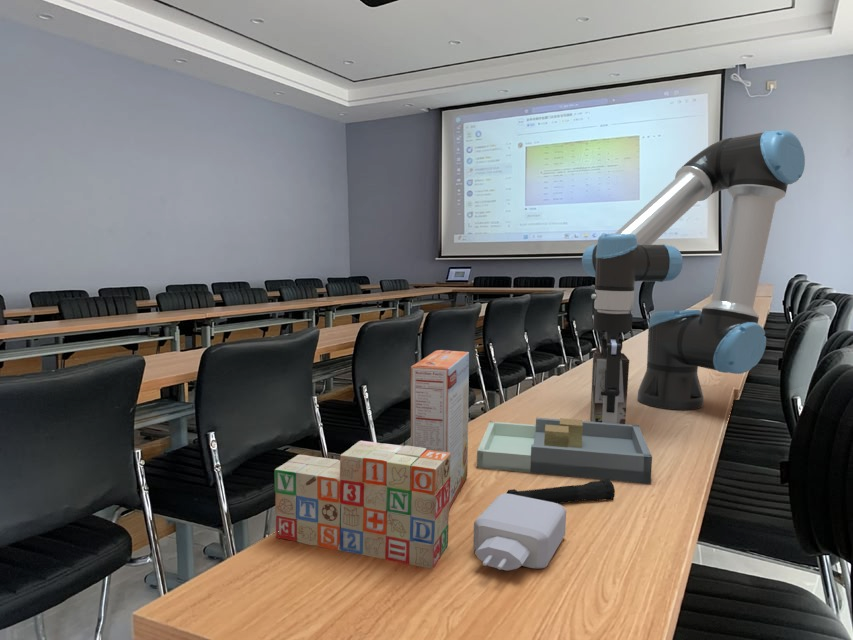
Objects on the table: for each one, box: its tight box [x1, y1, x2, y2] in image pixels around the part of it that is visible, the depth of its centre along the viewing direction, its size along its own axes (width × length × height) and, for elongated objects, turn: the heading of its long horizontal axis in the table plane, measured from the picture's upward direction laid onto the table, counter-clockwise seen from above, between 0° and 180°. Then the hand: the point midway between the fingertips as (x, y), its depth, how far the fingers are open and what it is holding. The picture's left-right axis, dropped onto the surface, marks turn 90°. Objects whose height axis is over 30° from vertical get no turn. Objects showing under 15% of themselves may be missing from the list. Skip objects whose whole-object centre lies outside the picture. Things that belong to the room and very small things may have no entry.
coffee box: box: [589, 352, 630, 424], centre depth 124 cm, size 9×6×16 cm
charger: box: [472, 493, 567, 572], centre depth 74 cm, size 5×9×15 cm
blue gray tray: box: [529, 417, 653, 485], centre depth 108 cm, size 19×18×4 cm
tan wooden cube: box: [559, 417, 583, 448], centre depth 111 cm, size 4×4×4 cm
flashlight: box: [505, 479, 616, 504], centre depth 90 cm, size 3×16×3 cm, turn 107°
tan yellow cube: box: [544, 425, 569, 448], centre depth 107 cm, size 4×4×4 cm
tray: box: [476, 421, 536, 474], centre depth 111 cm, size 9×18×3 cm, turn 167°
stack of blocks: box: [274, 440, 451, 569], centre depth 76 cm, size 21×6×12 cm, turn 71°
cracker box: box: [410, 349, 470, 509], centre depth 92 cm, size 14×6×21 cm, turn 164°
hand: (607, 420), depth 125 cm, fingers closed on coffee box, 9 cm apart
